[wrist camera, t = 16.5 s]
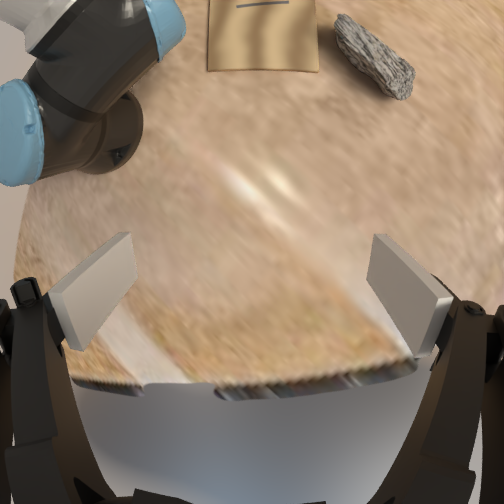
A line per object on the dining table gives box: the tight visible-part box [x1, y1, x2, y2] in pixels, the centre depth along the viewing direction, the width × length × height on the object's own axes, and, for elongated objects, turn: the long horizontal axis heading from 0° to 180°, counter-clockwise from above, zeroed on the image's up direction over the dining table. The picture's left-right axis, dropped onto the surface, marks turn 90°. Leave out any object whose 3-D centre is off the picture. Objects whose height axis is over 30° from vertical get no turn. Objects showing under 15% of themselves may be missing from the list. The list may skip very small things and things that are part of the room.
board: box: [208, 0, 319, 73], centre depth 29 cm, size 16×26×1 cm, turn 0°
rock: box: [334, 14, 416, 100], centre depth 29 cm, size 16×8×10 cm, turn 40°
